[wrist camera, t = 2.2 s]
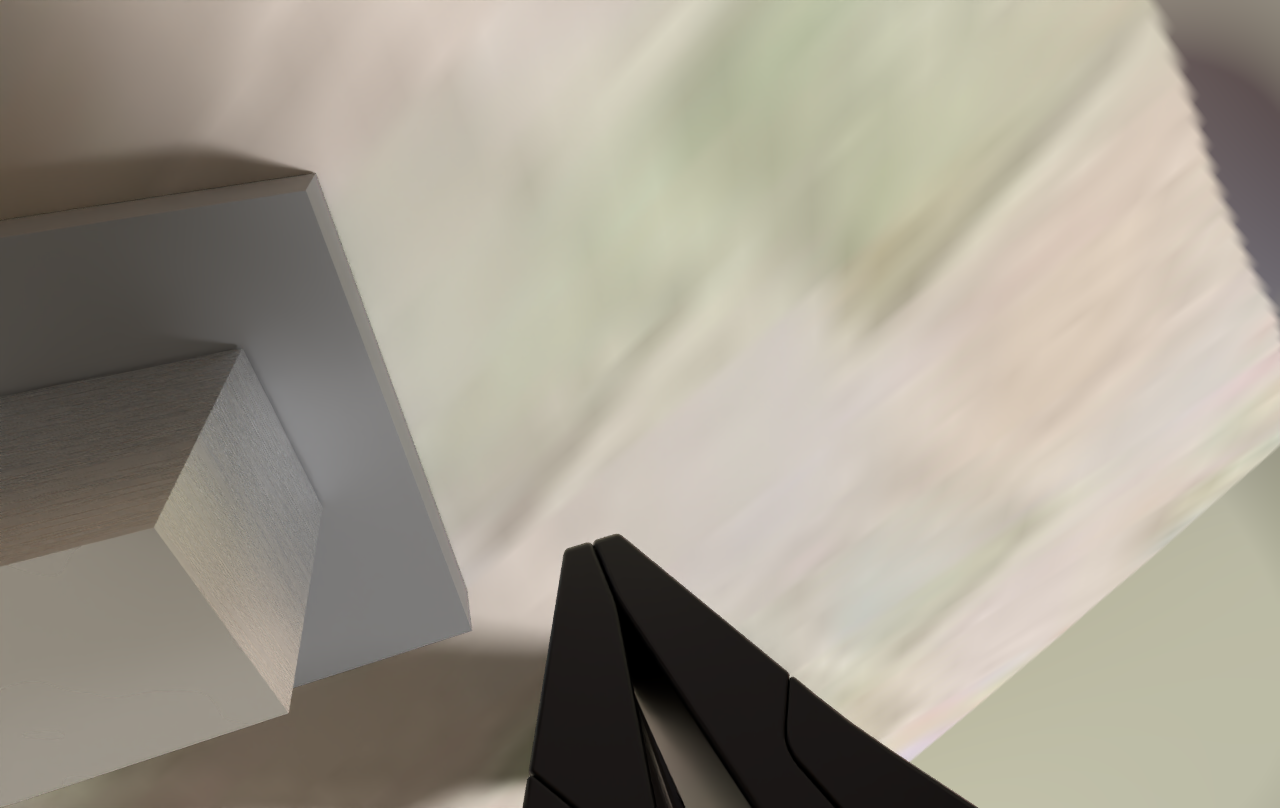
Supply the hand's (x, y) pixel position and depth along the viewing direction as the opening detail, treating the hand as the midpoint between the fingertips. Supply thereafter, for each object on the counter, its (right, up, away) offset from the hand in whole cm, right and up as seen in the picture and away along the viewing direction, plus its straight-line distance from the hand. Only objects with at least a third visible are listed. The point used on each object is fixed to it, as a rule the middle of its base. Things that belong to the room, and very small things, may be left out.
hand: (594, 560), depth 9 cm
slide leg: (-8, 0, +4) cm, 9 cm away
